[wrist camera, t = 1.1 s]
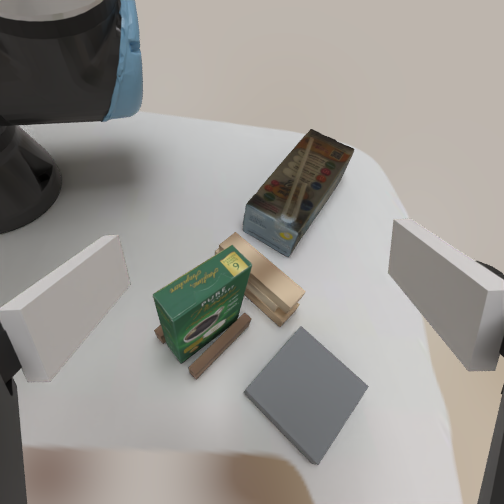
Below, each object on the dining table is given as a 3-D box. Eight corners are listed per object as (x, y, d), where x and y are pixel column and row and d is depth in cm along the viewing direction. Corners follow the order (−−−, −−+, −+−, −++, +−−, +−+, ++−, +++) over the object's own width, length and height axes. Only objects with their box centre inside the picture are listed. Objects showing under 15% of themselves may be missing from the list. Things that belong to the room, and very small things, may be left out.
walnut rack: (157, 337, 34) (154, 330, 32) (211, 290, 38) (211, 281, 35) (196, 379, 32) (195, 375, 30) (248, 326, 36) (251, 318, 34)
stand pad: (243, 392, 32) (245, 389, 30) (296, 331, 36) (301, 325, 35) (311, 463, 30) (318, 464, 28) (360, 389, 34) (368, 386, 32)
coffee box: (224, 301, 37) (233, 240, 26) (240, 319, 36) (255, 264, 25) (165, 344, 34) (146, 294, 23) (181, 365, 33) (168, 325, 22)
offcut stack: (213, 266, 39) (214, 243, 35) (230, 252, 41) (233, 228, 36) (280, 327, 36) (290, 310, 32) (295, 310, 38) (308, 291, 33)
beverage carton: (238, 231, 43) (243, 199, 37) (300, 157, 53) (311, 123, 47) (288, 260, 41) (301, 231, 36) (342, 178, 51) (359, 146, 46)
